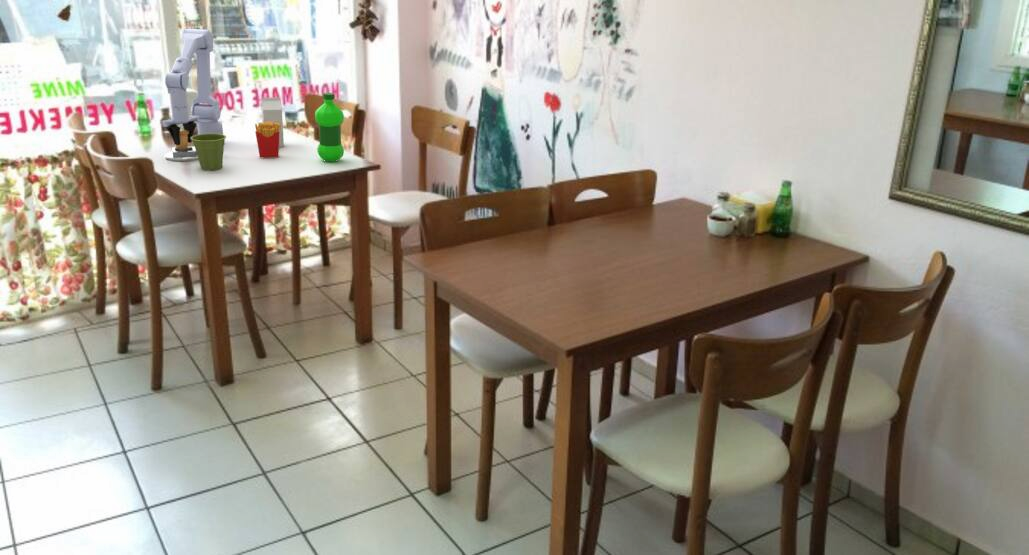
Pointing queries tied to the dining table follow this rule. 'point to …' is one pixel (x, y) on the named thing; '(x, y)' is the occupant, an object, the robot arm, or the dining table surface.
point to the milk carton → (273, 114)
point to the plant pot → (209, 150)
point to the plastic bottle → (329, 129)
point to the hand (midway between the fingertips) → (183, 143)
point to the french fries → (268, 139)
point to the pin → (183, 140)
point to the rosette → (182, 155)
